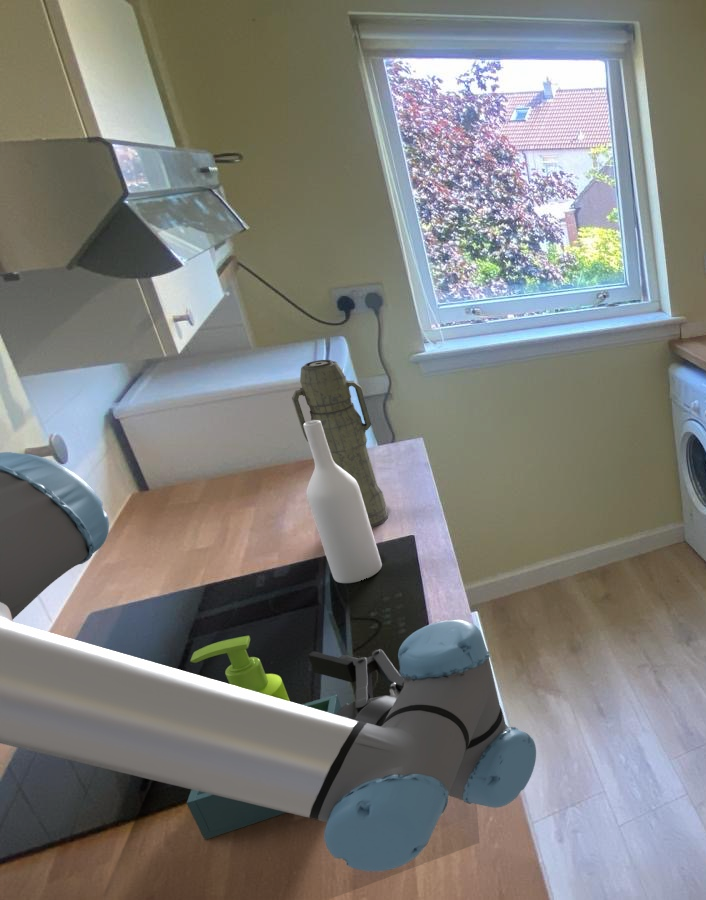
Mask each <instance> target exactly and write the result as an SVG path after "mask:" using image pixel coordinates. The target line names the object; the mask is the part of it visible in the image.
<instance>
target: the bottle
mask: <svg viewBox="0 0 706 900" xmlns="http://www.w3.org/2000/svg"><path fill="white" fill-rule="evenodd" d="M303 426H304V430H305V433H306V436H307V439H308V442H307V443H308V446H309V448H310V449H309V450H310V451H311V455H312V458H313V462H314V470H313V472H312V475H311V477H310V479H309V481H308V485H307V488H306V492H305V494H306V495H305V496H306V498H307V503H308V505H309V508H310V511H311V514H312V518H313V520H314V524H315V526H316V531H317V533H318V536H319V539H320V542H321V545H322V548H323V551H324V554H325V558H326V560H327V563H328V566H329V569H330V573H331V575H332V578H333V580H334V581H335V582H337V583H339V584H353V583H358V582H361V580H362V581H364V579H365V580H367V579H369V578H371V577H374V576H375V575H376V574H377V573H379V572H380V570H381V569H382V566H383V563H382V559H381V556H380V552H379V550H378V546H377V542H376V540H375V536H374V532H373V529H372V528H371V525H370V522H369V518H368V515H367V512H366V508H365V505H364V501H363V498H362V495H361V491H360V488H359V485H358V483H357V481H356V480H355V479H354V478H353V477H352V476H351V475H350V474H348V473H347V472H346V471H345V470H343V469H342V468H341V467H339V466H338V465H337V464H336V463H335V462H334V461H333V458H332V456H331V453H330V450H329V446H328V443H327V440H326V437H325V434H324V430H323V427H322V424H321V421H319V420H313V421H311V420H308V421H305V423H304V424H303ZM366 578H367V579H366Z"/></svg>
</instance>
